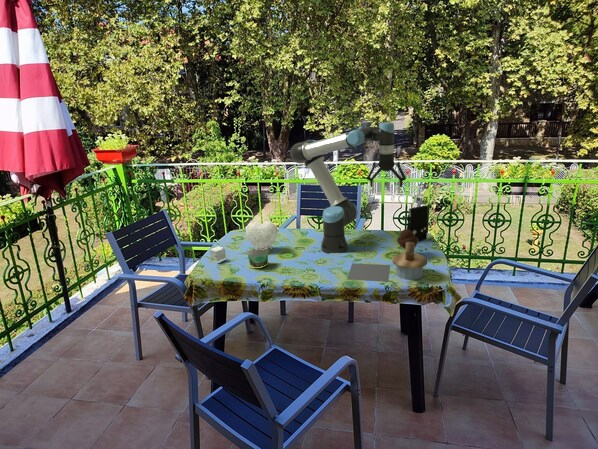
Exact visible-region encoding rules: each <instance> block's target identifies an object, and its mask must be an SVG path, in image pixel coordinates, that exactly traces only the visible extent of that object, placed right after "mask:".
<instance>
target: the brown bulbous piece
mask: <svg viewBox="0 0 598 449" xmlns="http://www.w3.org/2000/svg"><path fill="white" fill-rule="evenodd" d="M396 242H397V243H398V245H399V246H400V247H401V248H402V249H404V250H406V242H414V243H415V247H416V246H417V245H418V243H419V242H420V241H419V239H418V238H417V237H415V235H414V233H412V232H411V231H410V230H409V229H407V228H405V229H403V230H401V232H400V233H399V236H398V237H397V238H396Z"/></svg>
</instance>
